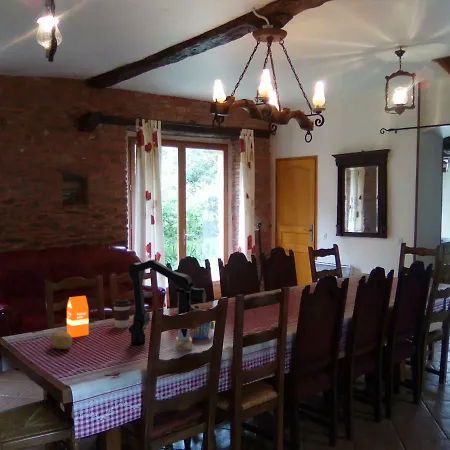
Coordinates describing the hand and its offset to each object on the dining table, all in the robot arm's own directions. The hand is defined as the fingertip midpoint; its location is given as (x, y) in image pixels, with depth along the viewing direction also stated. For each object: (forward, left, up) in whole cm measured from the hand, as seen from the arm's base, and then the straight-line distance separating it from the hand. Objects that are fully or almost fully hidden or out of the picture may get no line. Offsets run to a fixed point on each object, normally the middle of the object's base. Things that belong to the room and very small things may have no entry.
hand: (183, 334), depth 241 cm
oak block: (0, 0, -6) cm, 6 cm away
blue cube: (0, 0, -2) cm, 2 cm away
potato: (-57, +6, -7) cm, 58 cm away
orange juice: (-53, +31, -7) cm, 62 cm away
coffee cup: (-31, +45, -7) cm, 55 cm away
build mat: (0, 0, -6) cm, 6 cm away
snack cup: (+10, +17, -7) cm, 21 cm away
